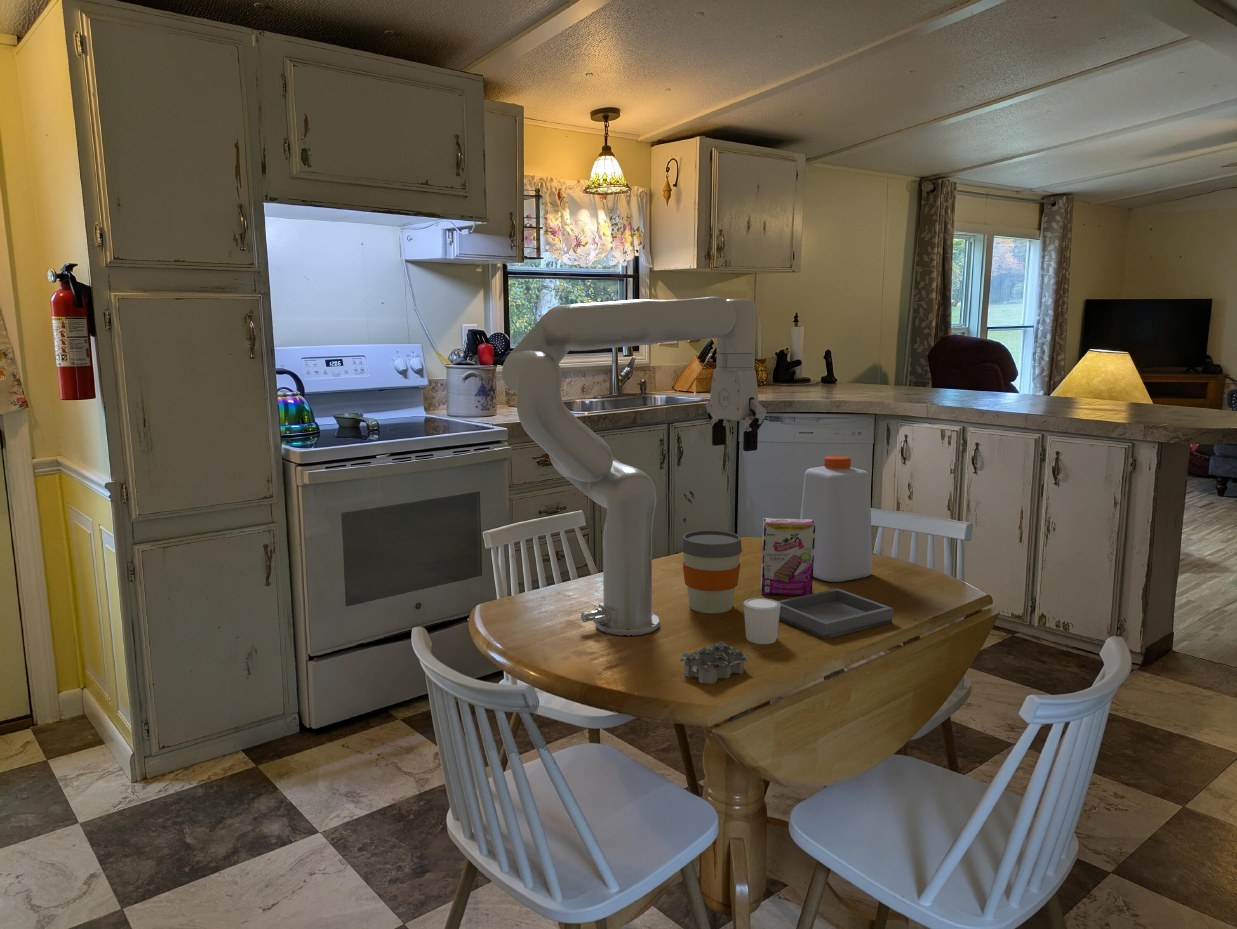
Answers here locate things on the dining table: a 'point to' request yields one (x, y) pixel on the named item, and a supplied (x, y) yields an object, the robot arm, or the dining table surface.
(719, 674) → the egg carton
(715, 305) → the robot arm
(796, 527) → the candy bar box
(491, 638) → the dining table surface
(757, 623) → the white cup
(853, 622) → the tray
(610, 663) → the dining table surface
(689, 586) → the reusable coffee cup
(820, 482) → the plastic bottle
